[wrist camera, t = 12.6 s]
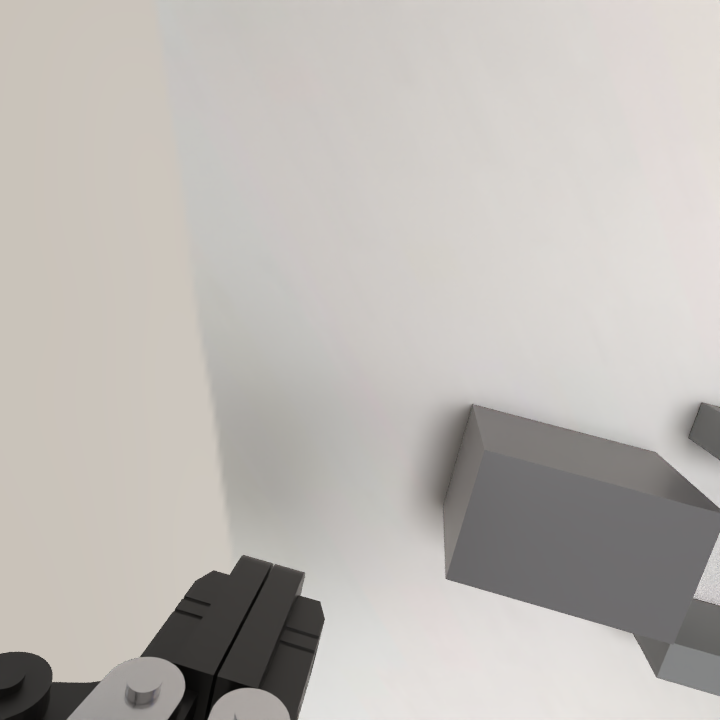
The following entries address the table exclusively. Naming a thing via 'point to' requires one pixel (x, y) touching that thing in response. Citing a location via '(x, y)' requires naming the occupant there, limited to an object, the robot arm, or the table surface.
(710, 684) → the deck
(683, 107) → the table surface
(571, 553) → the grey rectangular box
